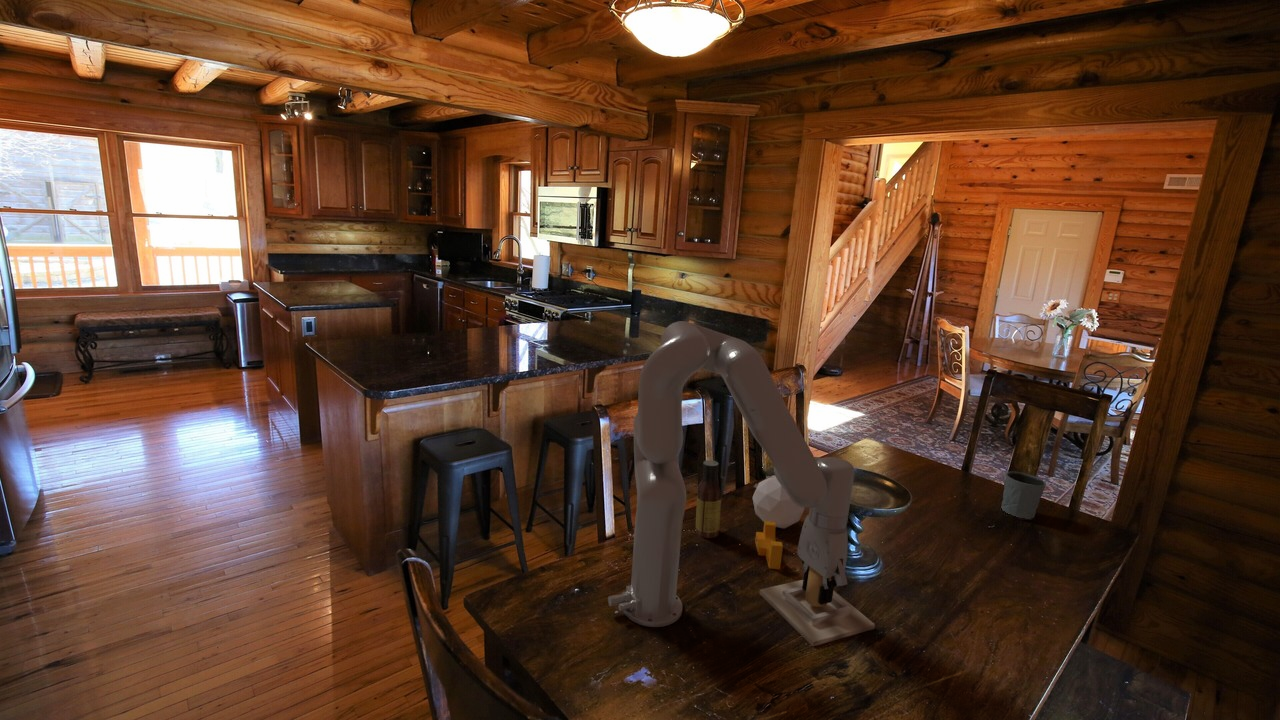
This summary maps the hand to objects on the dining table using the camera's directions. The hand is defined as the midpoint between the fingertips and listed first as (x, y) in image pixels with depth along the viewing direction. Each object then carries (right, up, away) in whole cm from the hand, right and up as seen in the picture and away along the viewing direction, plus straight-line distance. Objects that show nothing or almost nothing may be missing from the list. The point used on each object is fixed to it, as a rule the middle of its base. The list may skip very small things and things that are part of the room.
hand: (816, 594), depth 126 cm
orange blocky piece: (-6, +1, +21) cm, 22 cm away
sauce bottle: (-20, +4, +30) cm, 37 cm away
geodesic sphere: (-1, +4, +38) cm, 38 cm away
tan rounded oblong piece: (0, -1, 0) cm, 1 cm away
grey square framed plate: (0, -4, +1) cm, 4 cm away
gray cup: (+77, +3, +53) cm, 94 cm away
